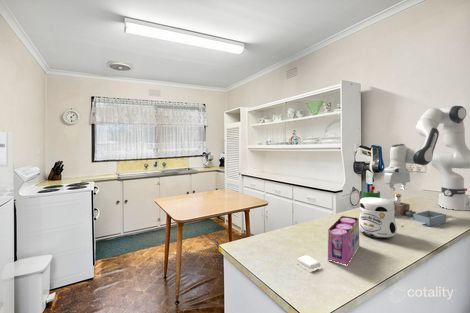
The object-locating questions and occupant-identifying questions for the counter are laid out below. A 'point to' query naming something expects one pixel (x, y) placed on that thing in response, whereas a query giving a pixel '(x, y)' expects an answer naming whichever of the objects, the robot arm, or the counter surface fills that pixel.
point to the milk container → (377, 217)
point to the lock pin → (397, 199)
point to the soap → (308, 262)
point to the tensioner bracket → (403, 210)
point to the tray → (433, 221)
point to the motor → (371, 193)
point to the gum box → (343, 239)
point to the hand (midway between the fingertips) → (397, 190)
